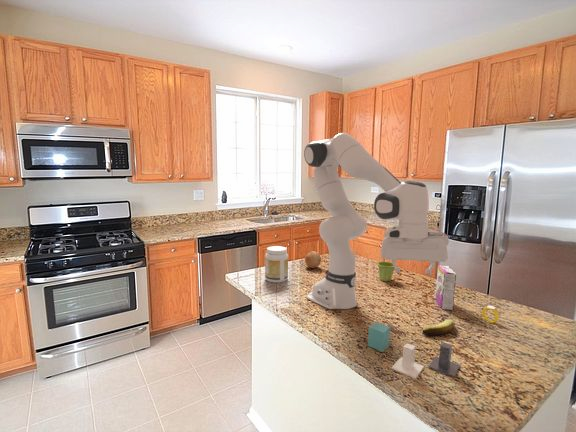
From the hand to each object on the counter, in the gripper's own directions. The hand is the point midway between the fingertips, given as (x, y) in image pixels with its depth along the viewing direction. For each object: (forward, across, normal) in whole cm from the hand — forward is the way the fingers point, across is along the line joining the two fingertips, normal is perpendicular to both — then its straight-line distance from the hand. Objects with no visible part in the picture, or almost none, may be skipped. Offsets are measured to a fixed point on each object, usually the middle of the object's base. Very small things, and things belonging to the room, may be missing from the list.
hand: (412, 273), depth 105 cm
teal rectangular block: (+25, +11, +2) cm, 27 cm away
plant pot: (+22, +8, -68) cm, 71 cm away
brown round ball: (+19, +49, -75) cm, 92 cm away
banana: (+26, -11, -16) cm, 32 cm away
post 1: (+26, +2, +13) cm, 29 cm away
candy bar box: (+24, -17, -41) cm, 51 cm away
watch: (+26, -31, -30) cm, 51 cm away
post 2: (+26, -8, +9) cm, 29 cm away
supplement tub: (+20, +63, -49) cm, 82 cm away
